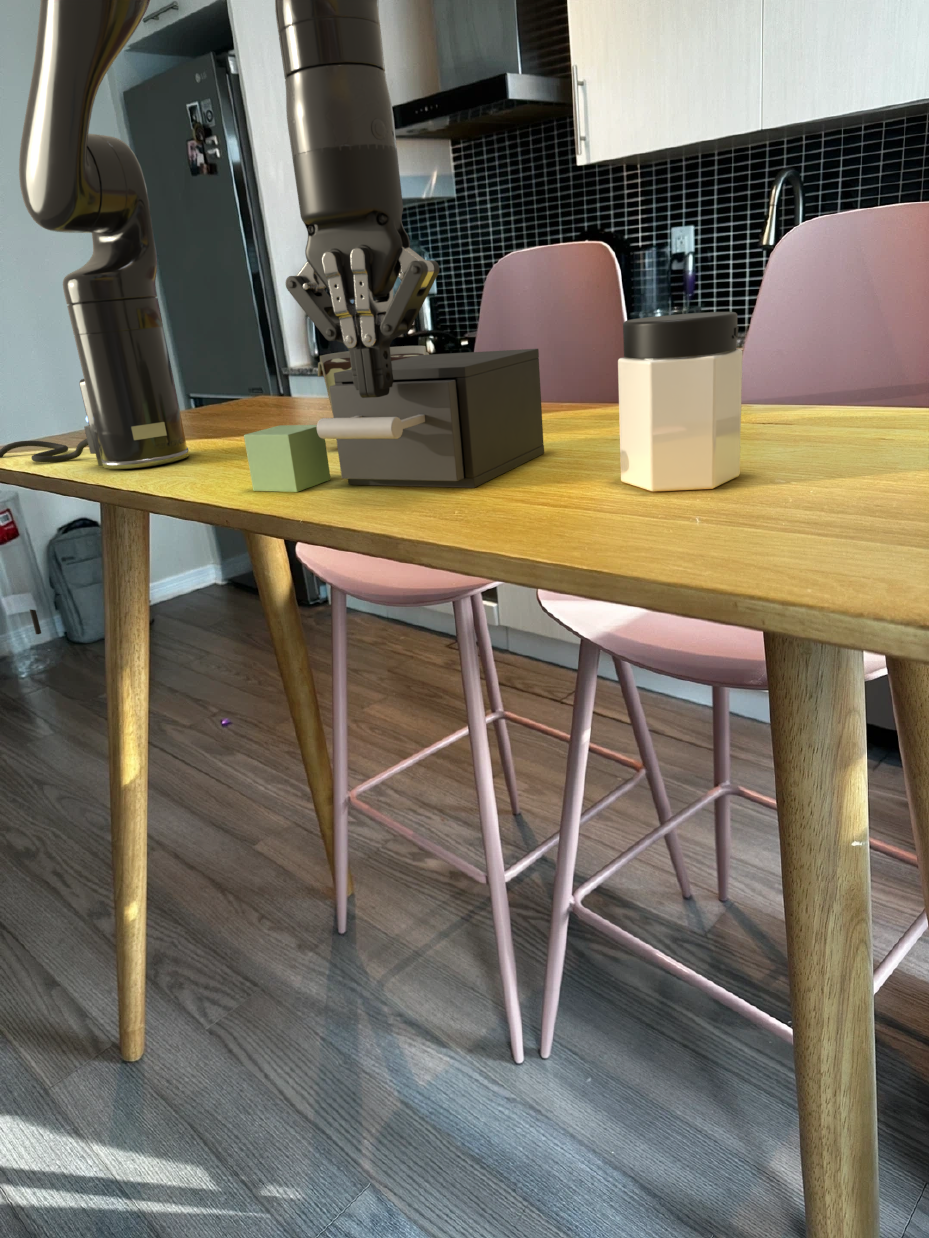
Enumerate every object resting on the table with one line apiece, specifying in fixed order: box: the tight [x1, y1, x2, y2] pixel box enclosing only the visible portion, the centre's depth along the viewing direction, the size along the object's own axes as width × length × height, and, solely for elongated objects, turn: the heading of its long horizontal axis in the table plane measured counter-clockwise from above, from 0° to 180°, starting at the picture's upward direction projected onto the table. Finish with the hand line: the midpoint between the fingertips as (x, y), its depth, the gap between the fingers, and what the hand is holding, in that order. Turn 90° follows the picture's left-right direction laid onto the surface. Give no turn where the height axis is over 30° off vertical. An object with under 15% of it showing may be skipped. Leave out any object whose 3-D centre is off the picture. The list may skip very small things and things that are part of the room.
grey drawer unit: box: [334, 348, 545, 489], centre depth 79 cm, size 15×13×10 cm
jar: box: [617, 311, 743, 492], centre depth 66 cm, size 9×8×12 cm
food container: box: [317, 345, 430, 414], centre depth 97 cm, size 12×6×10 cm, turn 84°
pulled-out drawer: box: [316, 378, 465, 481], centre depth 75 cm, size 19×11×8 cm, turn 152°
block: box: [243, 424, 332, 493], centre depth 79 cm, size 5×5×5 cm
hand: (374, 396), depth 69 cm, fingers closed
